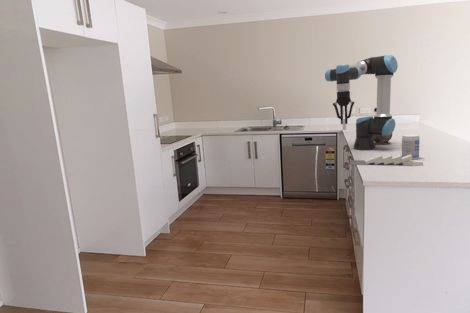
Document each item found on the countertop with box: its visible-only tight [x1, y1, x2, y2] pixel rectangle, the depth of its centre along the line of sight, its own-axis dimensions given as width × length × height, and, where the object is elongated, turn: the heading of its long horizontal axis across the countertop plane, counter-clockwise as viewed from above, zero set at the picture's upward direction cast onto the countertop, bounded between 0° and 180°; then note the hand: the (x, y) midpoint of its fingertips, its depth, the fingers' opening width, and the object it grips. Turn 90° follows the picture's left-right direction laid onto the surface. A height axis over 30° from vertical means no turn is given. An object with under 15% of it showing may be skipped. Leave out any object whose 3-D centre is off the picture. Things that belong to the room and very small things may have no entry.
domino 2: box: [374, 153, 394, 166], centre depth 203 cm, size 5×2×10 cm
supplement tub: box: [401, 133, 420, 160], centre depth 212 cm, size 10×10×15 cm
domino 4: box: [393, 154, 413, 165], centre depth 199 cm, size 5×2×10 cm
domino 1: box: [365, 154, 384, 164], centre depth 205 cm, size 5×2×10 cm
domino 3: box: [384, 154, 402, 165], centre depth 201 cm, size 5×2×10 cm
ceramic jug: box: [373, 107, 393, 145], centre depth 266 cm, size 17×15×30 cm
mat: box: [349, 159, 414, 167], centre depth 207 cm, size 13×34×1 cm, turn 67°
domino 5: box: [403, 159, 424, 166], centre depth 197 cm, size 5×2×10 cm
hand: (344, 129), depth 214 cm, fingers closed
